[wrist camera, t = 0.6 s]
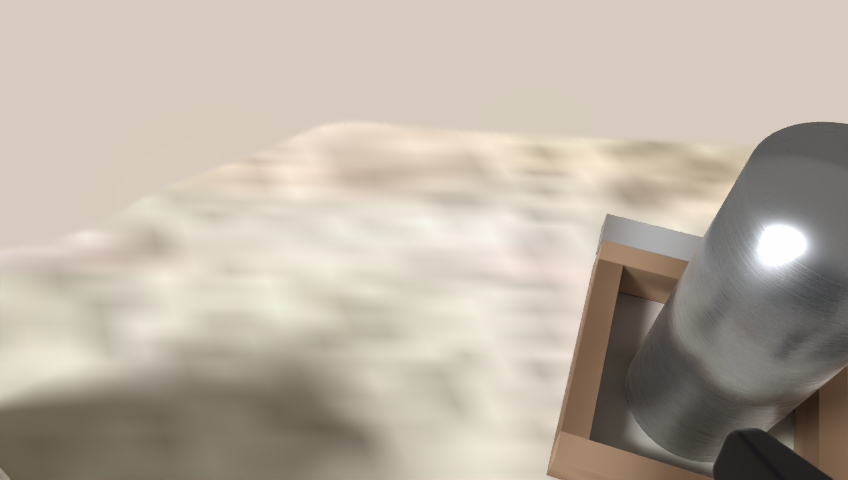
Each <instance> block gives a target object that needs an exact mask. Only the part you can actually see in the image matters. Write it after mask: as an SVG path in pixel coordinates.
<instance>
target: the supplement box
mask: <svg viewBox="0 0 848 480" xmlns="http://www.w3.org/2000/svg"><path fill="white" fill-rule="evenodd" d="M0 480H11V479H10V478H9V477H8V476H7V474H6V473H5V472H4V471H3V470H2V468H1V467H0Z"/></svg>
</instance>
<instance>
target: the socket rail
mask: <svg viewBox="0 0 848 480" xmlns="http://www.w3.org/2000/svg"><path fill="white" fill-rule="evenodd" d="M702 239H703V238H702V237H698V236H694V235H690V234H686V233H682V232H678V231H674V230H670V229H666V228H662V227H658V226H654V225H650V224H646V223H642V222H638V221H634V220H630V219H626V218H622V217H618V216H614V215H610V214H607V215H606V218H605V221H604V224H603V226H602V231H601V235H600V240H599V244H598V248H597V253H596V255H597V257H596V260H595V263H594V265H593V270H592V274H591V279H590V283H589V288H588V292H587V297H586V301H585V305H584V310H583V314H582V319H581V323H580V328H579V332H578V337H577V341H576V346H575V350H574V355H573V359H572V363H571V368H570V372H569V377H568V381H567V386H566V390H565V395H564V399H563V404H562V408H561V413H560V417H559V422H558V426H557V430H556V435H555V439H554V444H553V448H552V453H551V457H550V462H549V466H548V471H547V475H549V476H552V477H555V478H558V479H561V480H714V479H713V478H711V477H708V476H704V475H701V474H698V473H695V472H691V471H688V470H685V469H682V468H679V467H675V466H672V465H669V464H666V463H662V462H659V461H656V460H653V459H650V458H646V457H643V456H640V455H637V454H633V453H630V452H627V451H624V450H621V449H617V448H614V447H611V446H608V445H604V444H601V443H598V442H595V441H591V440H589V438H590V433H591V427H592V422H593V417H594V412H595V407H596V402H597V397H598V392H599V386H600V381H601V376H602V371H603V366H604V361H605V356H606V351H607V345H608V340H609V335H610V330H611V325H612V320H613V315H614V310H615V304H616V299H617V294H618V291H619V292H623V293H626V294H630V295H634V296H638V297H641V298H645V299H649V300H653V301H656V302H660V303H664V304H665V303H666V301H667V299H668V298H669V296H670V294H671V293H672V291H673V289H674V287H675V286H676V284H677V282H678V280H679V279H680V277H681V275H682V274H683V272H684V270H685V268H686V267H687V265H688V263H689V261H690V260H691V258H692V256H693V255H694V253H695V251H696V249H697V248H698V246H699V244H700V243H701V241H702ZM794 452H795V453H797V454H798V455H800V456H801V457H803V458H804V459H806V460H807V461H808V462H810V463H811V464H813V465H814V466H816V467H817V468H818V469H820V470H821V471H823V472H824V473H826V474H827V475H829V476H830V477H831V478H833V479H834V480H848V365H847V366H846V367H845V368H843V369H842V370H841V371H840V372H838V373H837V374H836V375H835V376H834V377H832V378H831V379H830V380H829V381H828V382H826V383H825V384H824V385H823V386H822V387H820V388H819V389H818V390H817V391H815V392H814V393H813V394H812V395H811V396H809V397H808V398H807V399H806V400H805V401H803V402H802V403H801V404H800V405H798V406H797V407H796V408H795V427H794Z"/></svg>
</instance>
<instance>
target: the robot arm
mask: <svg viewBox="0 0 848 480" xmlns="http://www.w3.org/2000/svg"><path fill="white" fill-rule="evenodd" d="M713 479H714V480H834V479H833V478H831V477H830V476H829V475H827V474H826V473H824V472H823V471H821V470H820V469H818V468H817V467H816V466H814V465H813V464H811V463H810V462H808V461H807V460H806V459H804V458H803V457H801V456H800V455H798V454H797V453H795V452H794V451H793V450H791V449H790V448H788V447H787V446H785V445H784V444H783V443H781V442H780V441H778V440H777V439H775V438H774V437H772V436H771V435H770V434H768V433H767V432H765V431H763V430H761V429H759V428H742V429H733V430H731V431H730V432H729V433H728V434H727V435H726V437H725V440H724V442H723V444H722V447H721V449H720V451H719V453H718V456H717V458H716V460H715V463H714V466H713Z"/></svg>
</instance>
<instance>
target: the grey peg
mask: <svg viewBox="0 0 848 480" xmlns="http://www.w3.org/2000/svg"><path fill="white" fill-rule="evenodd" d="M847 365H848V124H843V123H834V122H811V123H803V124H797V125H793V126H790V127H787V128H784V129H781V130H779V131H777V132H775V133H773V134H771V135H770V136H768V137H767V138H765V139H764V140H763V141H762V142H761V143H760V144H759V145H758V146H757V147H756V149H755V150H754V151H753V153H752V155H751V156H750V158H749V160H748V161H747V163H746V165H745V167H744V168H743V170H742V172H741V174H740V175H739V177H738V179H737V180H736V182H735V184H734V186H733V187H732V189H731V191H730V193H729V194H728V196H727V198H726V199H725V201H724V203H723V205H722V206H721V208H720V210H719V211H718V213H717V215H716V217H715V218H714V220H713V222H712V224H711V225H710V227H709V229H708V230H707V232H706V234H705V236H704V237H703V239H702V241H701V243H700V244H699V246H698V248H697V249H696V251H695V253H694V255H693V256H692V258H691V260H690V261H689V263H688V265H687V267H686V268H685V270H684V272H683V274H682V275H681V277H680V279H679V280H678V282H677V284H676V286H675V287H674V289H673V291H672V293H671V294H670V296H669V298H668V299H667V301H666V303H665V305H664V306H663V308H662V310H661V311H660V313H659V315H658V317H657V318H656V320H655V322H654V324H653V325H652V327H651V329H650V330H649V332H648V334H647V336H646V337H645V339H644V341H643V343H642V344H641V346H640V348H639V349H638V351H637V353H636V355H635V356H634V358H633V360H632V362H631V364H630V366H629V369H628V372H627V377H626V395H627V400H628V403H629V407H630V409H631V411H632V414H633V416H634V417H635V419H636V421H637V423H638V424H639V425H640V427H641V428H642V429H643V431H644V432H645V433H646V434H647V435H648V436H649V437H650V438H651V439H652V440H653V441H654V442H656V443H657V444H658V445H660V446H661V447H662V448H664V449H665V450H667V451H669V452H671V453H673V454H675V455H677V456H680V457H682V458H685V459H689V460H693V461H699V462H715V460H716V458H717V456H718V453H719V451H720V449H721V447H722V444H723V442H724V440H725V437H726V435H727V434H728V433H729V432H730V431H731V430H733V429H742V428H759V429H761V430H763V431H765V432H767V431H768V430H769V429H771V428H772V427H773V426H774V425H775V424H777V423H778V422H779V421H780V420H782V419H783V418H784V417H785V416H786V415H788V414H789V413H790V412H791V411H792V410H794V409H795V408H796V407H797V406H798V405H800V404H801V403H802V402H803V401H805V400H806V399H807V398H808V397H809V396H811V395H812V394H813V393H814V392H815V391H817V390H818V389H819V388H820V387H822V386H823V385H824V384H825V383H826V382H828V381H829V380H830V379H831V378H832V377H834V376H835V375H836V374H837V373H838V372H840V371H841V370H842V369H843V368H845V367H846V366H847Z"/></svg>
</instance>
